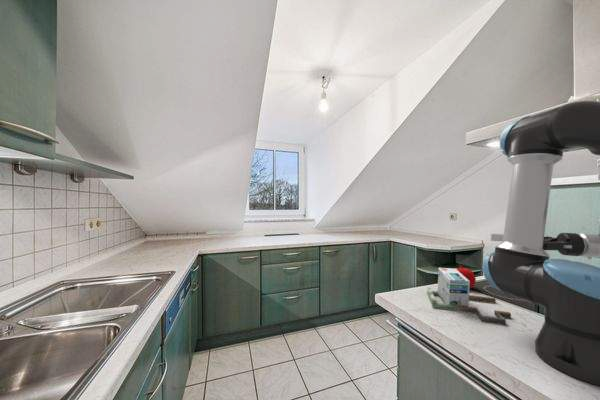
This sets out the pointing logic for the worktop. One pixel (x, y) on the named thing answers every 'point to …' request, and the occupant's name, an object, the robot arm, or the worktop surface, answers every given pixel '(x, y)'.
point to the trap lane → (471, 308)
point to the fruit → (468, 275)
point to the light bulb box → (453, 287)
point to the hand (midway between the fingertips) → (497, 239)
